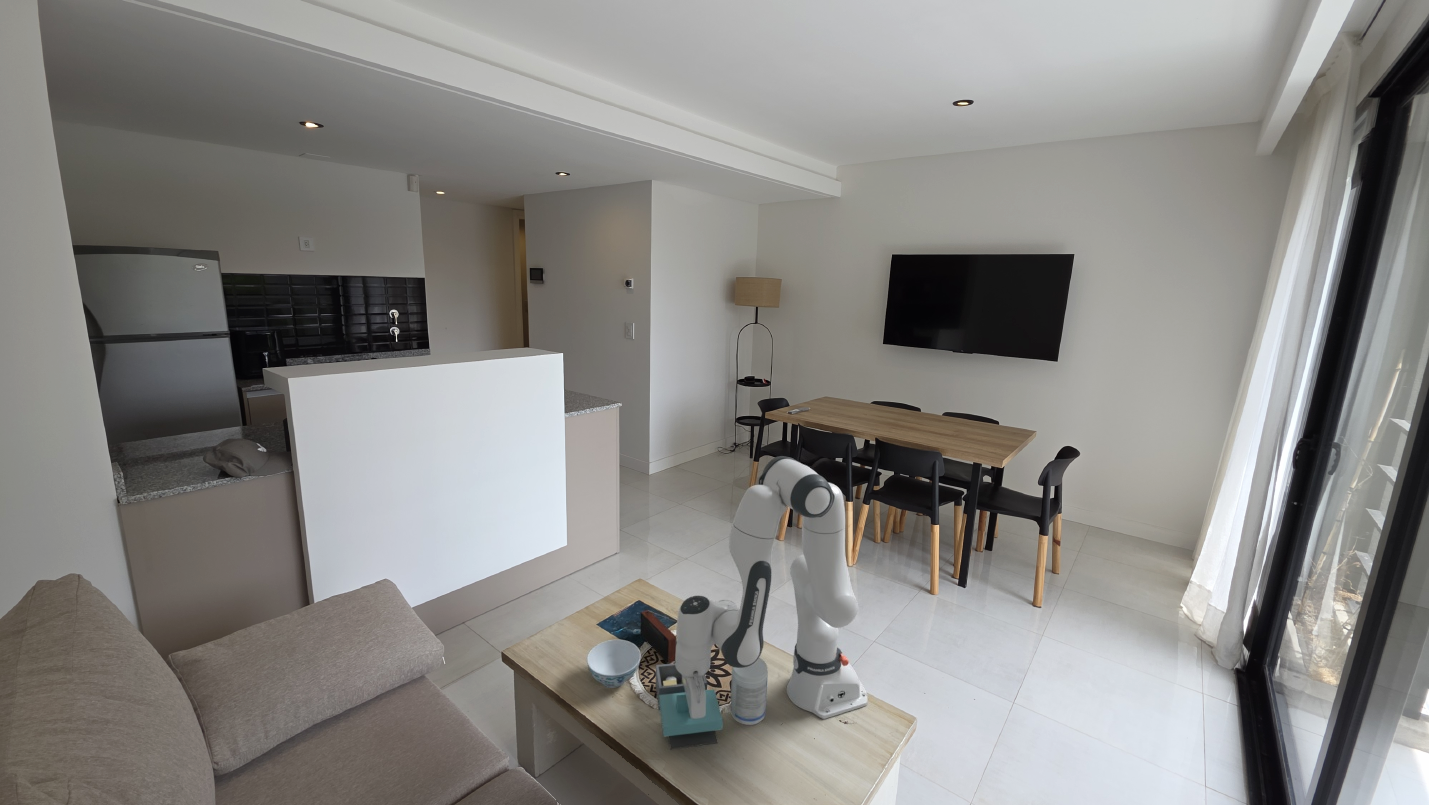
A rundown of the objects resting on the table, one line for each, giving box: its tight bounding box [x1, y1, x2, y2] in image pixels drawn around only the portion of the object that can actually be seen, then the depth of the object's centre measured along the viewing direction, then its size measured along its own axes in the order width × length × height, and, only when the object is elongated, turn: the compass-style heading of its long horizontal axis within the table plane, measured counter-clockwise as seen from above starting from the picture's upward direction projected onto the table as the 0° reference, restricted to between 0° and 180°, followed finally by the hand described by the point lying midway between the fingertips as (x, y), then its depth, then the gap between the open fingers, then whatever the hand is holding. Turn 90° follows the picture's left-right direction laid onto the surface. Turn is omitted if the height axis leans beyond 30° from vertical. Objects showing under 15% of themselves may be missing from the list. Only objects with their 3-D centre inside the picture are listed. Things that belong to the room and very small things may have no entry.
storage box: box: [655, 662, 708, 711], centre depth 158 cm, size 13×9×7 cm
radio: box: [640, 609, 677, 664], centre depth 175 cm, size 19×3×15 cm, turn 37°
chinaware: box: [586, 639, 642, 689], centre depth 163 cm, size 15×15×8 cm
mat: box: [667, 730, 719, 750], centre depth 147 cm, size 12×11×1 cm
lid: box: [658, 688, 724, 738], centre depth 146 cm, size 15×11×6 cm
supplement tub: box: [729, 657, 769, 726], centre depth 152 cm, size 10×10×15 cm
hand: (690, 705), depth 146 cm, fingers closed on lid, 2 cm apart
